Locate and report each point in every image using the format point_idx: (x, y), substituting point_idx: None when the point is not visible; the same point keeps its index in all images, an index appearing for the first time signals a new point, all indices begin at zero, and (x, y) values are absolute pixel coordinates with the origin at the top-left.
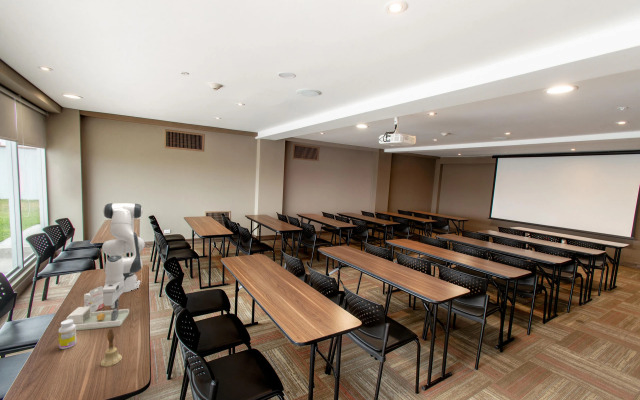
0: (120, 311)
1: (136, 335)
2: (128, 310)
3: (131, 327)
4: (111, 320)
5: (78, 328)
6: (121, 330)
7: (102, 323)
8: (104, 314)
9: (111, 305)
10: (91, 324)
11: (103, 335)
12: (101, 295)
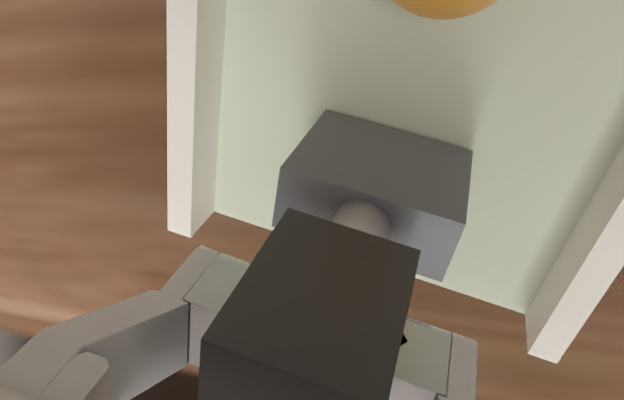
0: (579, 246)
1: (14, 289)
2: (527, 340)
3: (147, 278)
4: (326, 112)
5: None
6: (105, 201)
7: (174, 6)
8: (440, 13)
9: (160, 296)
10: None
11: (23, 34)
12: None
